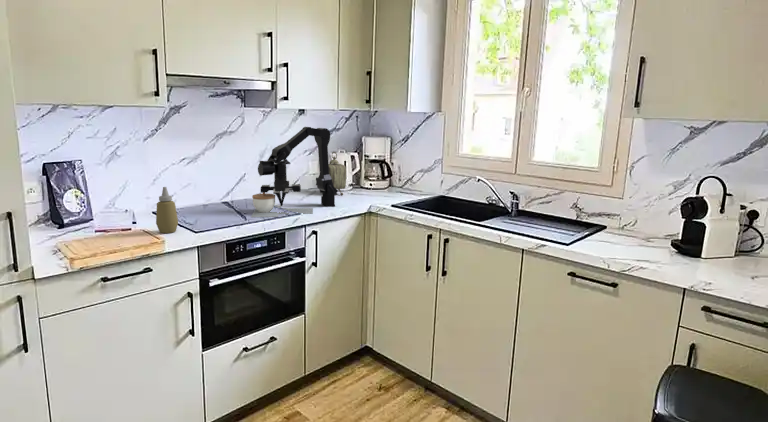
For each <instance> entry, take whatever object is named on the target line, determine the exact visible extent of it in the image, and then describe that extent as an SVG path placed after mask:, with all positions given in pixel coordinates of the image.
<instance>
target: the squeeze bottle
mask: <svg viewBox="0 0 768 422" xmlns="http://www.w3.org/2000/svg"><path fill="white" fill-rule="evenodd" d="M161 193H162V194H161V195H159V196H158V202H157V203H156V216H155V217H156V218H155V219H156V221H155V224H156V227H157V229H158V231H159V233H161V234H172V233H175V232H176V231H177V229H178V225H179V219H178V213H177V209H176V202H175V201H173V196H172V195H170V194H169V192H168V188H167V186H163V187H162V191H161Z"/></svg>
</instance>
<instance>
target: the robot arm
mask: <svg viewBox="0 0 768 422" xmlns="http://www.w3.org/2000/svg"><path fill="white" fill-rule="evenodd" d="M309 136H311V137H314V141H315V143H316V145H317V149H318V150H317V153H318V168H319V175H318V177H316V178H315V181H316V182H315V183H316V184H315V186H316V187H317V189H318V191H319V192H320V194H321V195H322V196H321V197H320V198H321V199H320V205H321V207H335V206H336V202H335V201H336V199H335V196H336V195H337V194H338V192H339V190H338V189H336V188H335V187H334V186H333V182H332V178H331V176H330V174H329V164H330V161H329V148H328V147H329V144H330V141H331V131H330V129H328V128H324V127H317V128H316V127H315V128H314V127H311V126H304V127H302V129H300V130H299V132H297V133H296V134H294V135H293V136H291V138H290V139H288V140H287V141H286V142H284V143H282V144H279V145H277V146H276V147H275V146H274V148H273V149H272V150H271V154H270V155H269V157H268V159H267V160H259V163H258V166H257V173H258V175H259V176H272V175H274V177H273V178H274V182H273V186H271V185H270V184H262V185H261V186H260V193H263V192H265V193H269V191H273V193H272V194H274V195H275V197H277V200H278V201H279V206H281V207H282V206H283V205H284V204H283V203H284V202H285V201H284V200H285V197H286V195H287V194H289V193H290V191H292V192H294V193H297V192H299V193H300V192H301V191H302V187H301V184H292V185H290V181H289V180H287V165H291V162H290V161H289V160H288V159H287V158H288V157H289V156H290V155H291V153H292V151H293V150H294V149H295V148H296V147H297V146H298V145H300V144H301V143H303V141H304V140H306V139H307V138H308V137H309Z"/></svg>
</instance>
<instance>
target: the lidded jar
mask: <svg viewBox="0 0 768 422" xmlns="http://www.w3.org/2000/svg"><path fill="white" fill-rule="evenodd" d="M252 203H253V204H252V205H253V207H254V209H256V210H258V212H270V211H271V210H272V209H273V207H274V206H276V205H275V204H276V194H273V193H268V192H262V193H256V194H253V195H252Z"/></svg>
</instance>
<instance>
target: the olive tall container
mask: <svg viewBox="0 0 768 422" xmlns="http://www.w3.org/2000/svg"><path fill="white" fill-rule="evenodd" d="M333 154H335V156H334V155H333ZM337 157H338V154H337V152H336V151H332V152H331V158H332V159H331V160H330V161H329V174H330V176H331V178H332V182H333V186H334V187H335V188H336V189H337V190H338V192H339V193H340V195H341V196H343V195H344V192H342V189H343V190H344V189H346V186H347V170H346V169H347V168H346V166H345V165H344V164H342V163H339V161H338V160H337V159H338V158H337Z"/></svg>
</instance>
